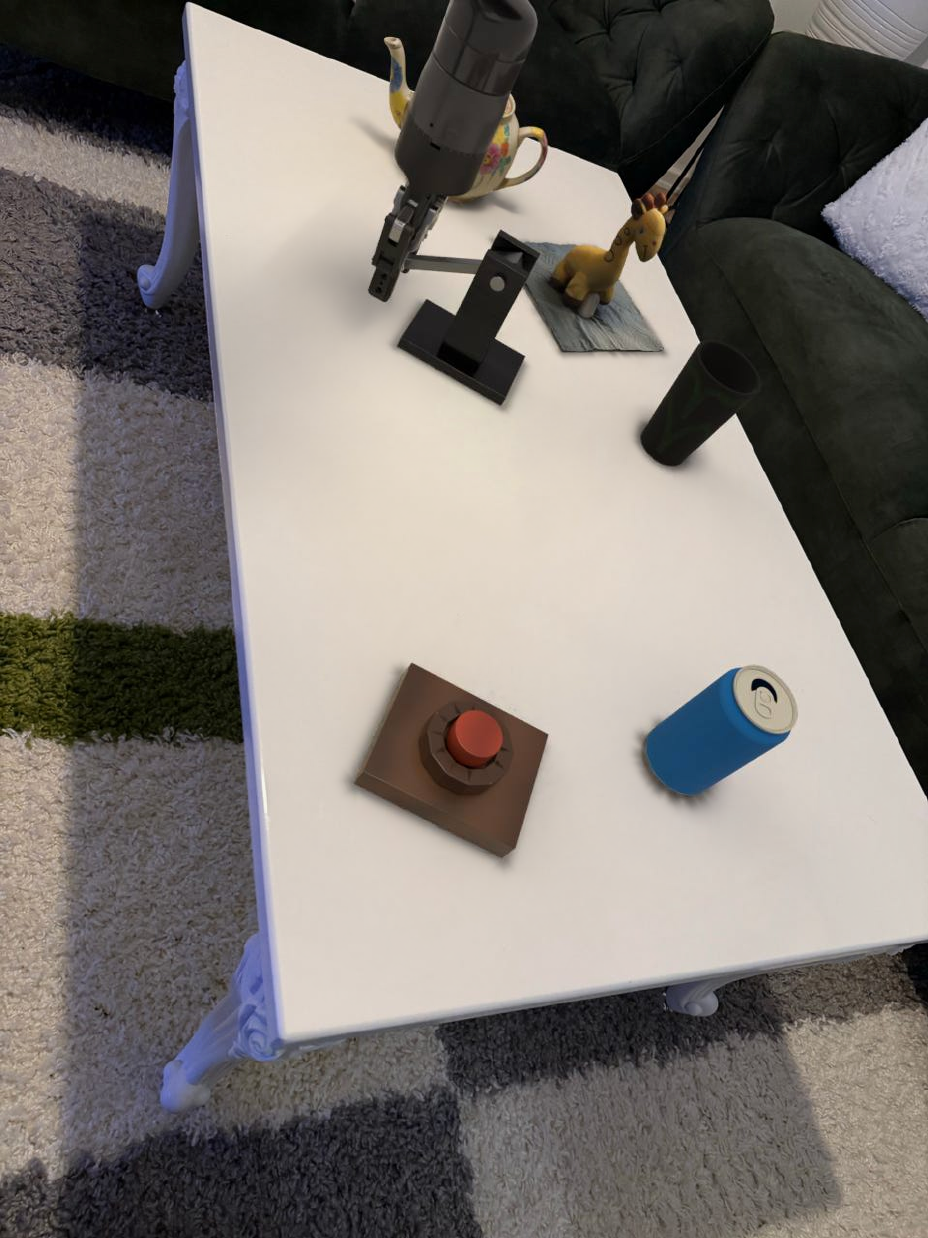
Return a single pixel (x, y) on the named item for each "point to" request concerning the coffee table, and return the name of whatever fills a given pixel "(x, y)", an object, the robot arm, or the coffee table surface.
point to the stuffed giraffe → (598, 285)
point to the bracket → (475, 325)
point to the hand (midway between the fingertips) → (388, 281)
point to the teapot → (500, 148)
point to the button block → (452, 763)
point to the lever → (455, 262)
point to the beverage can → (722, 729)
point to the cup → (700, 401)
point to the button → (474, 738)
